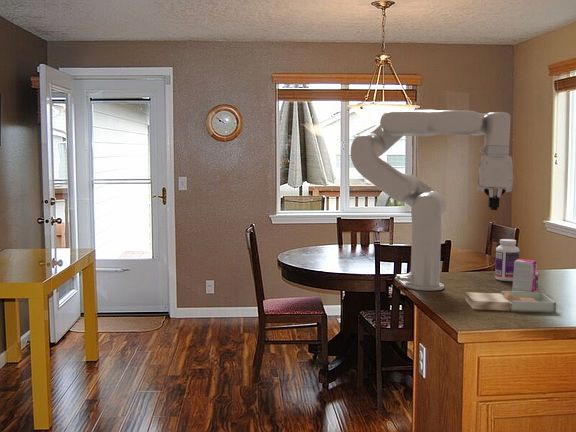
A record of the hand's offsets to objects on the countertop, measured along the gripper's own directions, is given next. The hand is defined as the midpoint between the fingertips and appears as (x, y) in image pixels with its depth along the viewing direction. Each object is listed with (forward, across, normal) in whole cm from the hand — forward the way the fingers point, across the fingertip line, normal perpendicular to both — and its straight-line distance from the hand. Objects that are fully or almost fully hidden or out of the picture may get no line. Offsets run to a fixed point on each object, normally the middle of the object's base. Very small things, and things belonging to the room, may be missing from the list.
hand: (493, 209), depth 210 cm
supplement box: (+27, +10, -2) cm, 29 cm away
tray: (+27, +7, -17) cm, 33 cm away
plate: (+27, -4, -17) cm, 32 cm away
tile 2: (+25, +7, -17) cm, 31 cm away
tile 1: (+26, +2, -17) cm, 31 cm away
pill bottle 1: (+27, +11, +25) cm, 39 cm away
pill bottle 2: (+27, +14, +6) cm, 31 cm away
